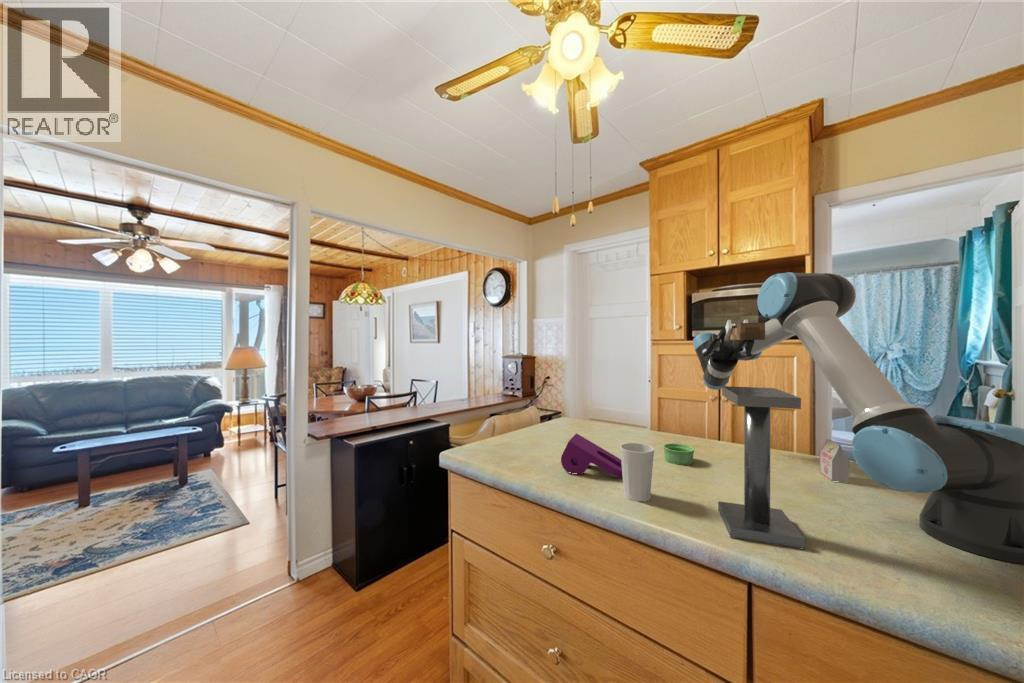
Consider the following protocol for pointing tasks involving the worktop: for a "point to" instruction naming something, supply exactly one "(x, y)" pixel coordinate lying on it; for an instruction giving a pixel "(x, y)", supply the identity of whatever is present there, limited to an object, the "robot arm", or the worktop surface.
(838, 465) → the milk carton
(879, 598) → the worktop surface
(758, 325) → the walnut bar
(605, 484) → the worktop surface
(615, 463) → the mounting bracket
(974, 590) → the worktop surface
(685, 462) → the ramekin
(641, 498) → the cup
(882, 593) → the worktop surface
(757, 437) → the charcoal stand
